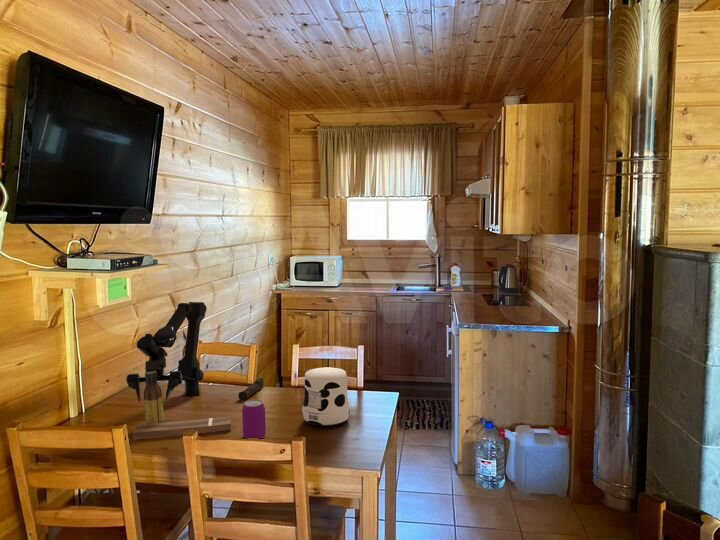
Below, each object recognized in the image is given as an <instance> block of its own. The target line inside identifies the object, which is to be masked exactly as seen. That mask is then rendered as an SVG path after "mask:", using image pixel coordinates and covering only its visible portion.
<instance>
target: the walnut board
mask: <svg viewBox="0 0 720 540" xmlns="http://www.w3.org/2000/svg"><path fill="white" fill-rule="evenodd" d="M188 430H195V431H198V433H203V434H206V433H205V432H213V431H224V432H227V431H226V430H231V431H232V416H225V417H224V416H223V417H209V418H203V419H202V418H201V419H190V420H179V421H178V420H177V421H168V422H165V421H164V423H153V424H145V423H144V424H136V425H135V427H134V430H133V432H132V440H133V441H136V440H146V439H147V440H148V439H158V438H168V437H179V436H184V435H183V433H184V432H185V431H188Z"/></svg>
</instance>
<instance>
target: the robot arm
mask: <svg viewBox="0 0 720 540" xmlns="http://www.w3.org/2000/svg"><path fill="white" fill-rule="evenodd" d="M207 309H208V308H207V305H206V303H204V302H203V301H202V302H201V301H189V302H180V303H178V304H177V308H176V310H175V311H174V312H173V314H172V315H171V317H170V318H169V320H168V321H167V323H166V325H165V326H163V327H161V328H159V329H158V330H156V332H155V333H154V334H152V333H146V334H145V335H144V336H142V337H141V338H140V339H139V340H137V342H136V348H137V349H138V350H139V351H140V352H141V353H142V354H144V355H145V357H148V360H147V361H145V367H144V369H145V372H147V371H152V370H155V371H157V382H164V381H165V382H167V387H166V391H165V392H166V393H165V400H166V401H167V400H168V399H169V397H170V396H171V394H172V392H173V391H174V389H175V388H176V387H179V385H182V384H183V381H184V392H183V397H189V396H190V397H191V396H192V395H194V396H200V395H201V392H200V391H201V389H200V381H203V380H204V375H205V372H203V371H202V370H201V368H200V367H201V366H200V361H199V359H198V357H197V355H198V346H199V337H200V330H201V329H200V328H201V323H202V322H203V320H204V319H205V317H206V314H207V311H208V310H207ZM185 320H187V330H186V339H185V349H184V356H183V357H182V359H179V360H178V366H177V370H171V371H169V374H165V368H167V359H166V357H168V353H167V350H166V349H165V348H172V347H173V346H174V345H175V343H176V341H177V338H178V337H177V332H178V331H179V329H180V327H181V326H182V325H183V323H184V321H185ZM164 374H165V375H164ZM125 380H126V381H125V382H126V383H127V386H128V388H131V389H132V390H135V392H136V397H137V400H138V402H139V403H140V402H141V399H142V386H141V385H142V383H146V377H145V376H141V375H140V373H138V372H137V373H128V374H127V375H126V379H125ZM192 397H193V396H192Z"/></svg>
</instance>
